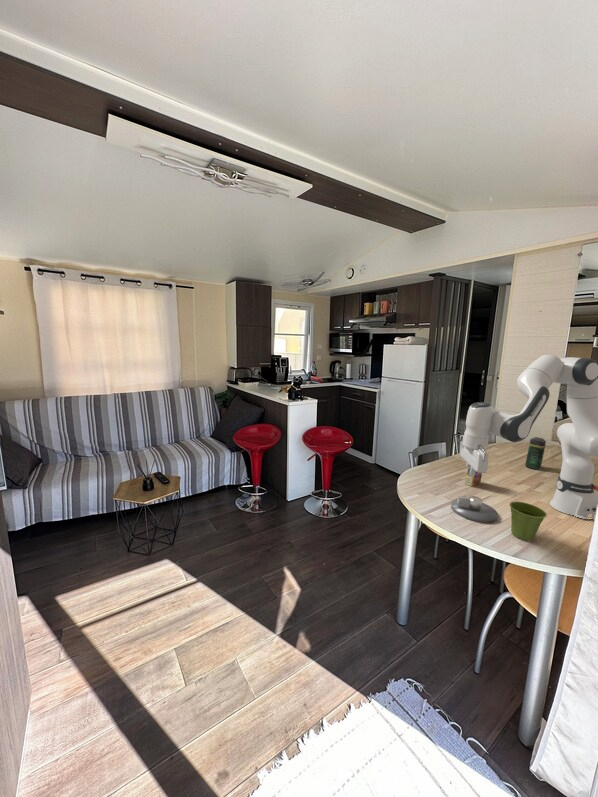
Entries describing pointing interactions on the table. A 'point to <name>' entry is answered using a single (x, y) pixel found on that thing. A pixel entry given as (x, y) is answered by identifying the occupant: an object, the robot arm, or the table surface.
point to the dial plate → (476, 513)
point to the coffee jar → (535, 453)
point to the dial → (470, 502)
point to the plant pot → (525, 520)
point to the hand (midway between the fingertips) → (470, 474)
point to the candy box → (473, 479)
